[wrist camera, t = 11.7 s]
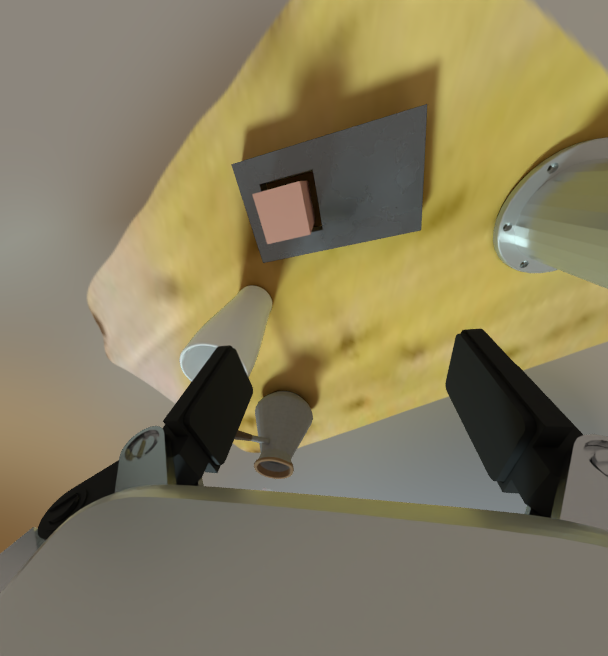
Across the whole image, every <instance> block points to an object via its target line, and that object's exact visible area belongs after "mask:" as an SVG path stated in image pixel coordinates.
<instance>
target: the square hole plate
mask: <svg viewBox="0 0 608 656" xmlns="http://www.w3.org/2000/svg"><path fill="white" fill-rule="evenodd" d="M426 118H427V104H426V105H422V106H419V107H416V108H413V109H409V110H406V111H403V112H400V113H397V114H393V115H390V116H387V117H384V118H380V119H377V120H374V121H371V122H367V123H364V124H361V125H358V126H354V127H351V128H348V129H345V130H341V131H338V132H335V133H332V134H329V135H325V136H322V137H319V138H316V139H312V140H309V141H306V142H303V143H299V144H296V145H293V146H290V147H286V148H283V149H280V150H277V151H273V152H270V153H267V154H264V155H260V156H257V157H254V158H251V159H248V160H244V161H241V162H238V163H235V164H231V165H232V168H233V171H234V174H235V177H236V180H237V183H238V186H239V190H240V193H241V196H242V199H243V202H244V205H245V208H246V211H247V214H248V217H249V220H250V224H251V227H252V230H253V233H254V236H255V239H256V242H257V245H258V248H259V251H260V254H261V258H262V261H263V263H265V262H270V261H275V260H280V259H284V258H289V257H294V256H299V255H304V254H309V253H313V252H318V251H323V250H328V249H333V248H338V247H342V246H347V245H352V244H357V243H362V242H367V241H371V240H376V239H381V238H386V237H391V236H396V235H400V234H405V233H410V232H415V231H420V230H421V221H422V200H423V180H424V159H425V139H426ZM310 171H313V174H314V180H315V186H316V191H317V197H318V203H319V209H320V215H321V221H322V226H318V227H314V228H312V231H311V234H310V235H306V236H302V237H298V238H293V239H289V240H284V241H280V242H275V243H271V244H267V241H266V238H265V235H264V231H263V228H262V225H261V221H260V218H259V215H258V211H257V208H256V205H255V202H254V198H253V195H252V194H255V193H258V192H262V191H266V190H268V189H267V186H266V184H268V183H271V182H275V181H278V180H282V179H286V178H289V177H293V176H296V175H300V174H303V173H307V172H310Z"/></svg>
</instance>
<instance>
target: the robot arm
mask: <svg viewBox="0 0 608 656" xmlns="http://www.w3.org/2000/svg"><path fill="white" fill-rule="evenodd" d="M493 243H494V248H495V251H496V253H497V255H498V257H499V258H500V259H501V260H502V261H503V263H505V264H506V265H508V266H510V267H511V268H513V269H516V270H518V271H521V272H527V273H544V272H551V271H555V270H561V271H563V272H566V273H568V274H571V275H573V276H576V277H578V278H581V279H584V280H586V281H589V282H591V283H594V284H596V285H599V286H601V287H604V288H607V289H608V137H607V138H599V139H593V140H589V141H585V142H580V143H577V144H575V145H572V146H570V147H567V148H565V149H563V150H561V151H559V152H557V153H556V154H554V155H552V156H551V157H549V158H547V159H546V160H544V161H543V162H542V163H540V164H539V165H538V166H537V167H535V168H534V169H533V170H532V171H530V172H529V173H528V174H527V175H526V176H525V177H524V178H523V179H522V180H521V181H520V182H519V183H518V185H517V186H516V187H515V188H514V190H513V191H512V192H511V193H510V195H509V196H508V198H507V199H506V201H505V203H504V204H503V206H502V208H501V210H500V212H499V215H498V217H497V219H496V223H495V227H494V234H493ZM446 390H447V393H448V395H449V397H450V399H451V401H452V402H453V405H454V407H455V408H456V411H457V413H458V414H459V417H460V418H461V420H462V423H463V424H464V427H465V429H466V431H467V433H468V435H469V437H470V439H471V441H472V443H473V445H474V447H475V449H476V451H477V452H478V454H479V457H480V459H481V461H482V463H483V465H484V467H485V469H486V471H487V473H488V475H489V476H490V478H491V479H492V480H493V481H497V482H498V484H499V486H500V488H501V490H502V492H506V493H519V494H520V496H521V497H522V499H523V501H524V503H525V504H527V507H526V511H525V514H518V513H509V512H498V511H489V510H480V509H469V508H461V507H449V506H438V505H426V504H415V503H403V502H392V501H381V500H370V499H358V498H346V497H333V496H321V495H309V494H297V493H285V492H272V491H259V490H245V489H233V488H220V487H206V486H203V481H202V476H203V474H204V471H205V472H211V473H217V472H218V470H219V468H220V465H222V464H223V463H224V462H225V460H226V458H227V455H228V453H229V450H230V448H231V446H232V443H233V441H234V438H235V436H236V433H237V431H238V428H239V426H240V424H241V421H242V419H243V416H244V414H245V411H246V409H247V406H248V404H249V402H250V399H251V397H252V394H253V387H252V385H251V383H250V380H249V378H248V376H247V373H246V371H245V369H244V367H243V364H242V362H241V360H240V357H239V355H238V353H237V351H236V349H235V348H233V347H232V346H230V345H228V346H218V347H217V348H216V349H215V351H214V352H213V353H212V355H211V356H210V358H209V359H208V360H207V362H206V363H205V364H204V366H203V367H202V368H201V370H200V371H199V373H198V374H197V375H196V377H195V378H194V379H193V381H192V382H191V383H190V385H189V386H188V388H187V389H186V390H185V392H184V393H183V394H182V396H181V397H180V399H179V400H178V401H177V403H176V404H175V405H174V407H173V408H172V410H171V411H170V412H169V414H168V415H167V416H166V418H165V419H164V421H163V422H164V423H165V426H164V427H163V428H161V427H159V426H152V427H149V428H146V429H144V430H142V431H140V432H139V433H137V434H136V435H135V436H133V437H132V438H131V439H130V440H129V441H128V443H127V444H126V445H125V446H124V448H123V449H122V451H121V454H120V457H119V460H118V461H117V462H115V463H113V464H112V465H110V466H109V467H107V468H105V469H104V470H102V471H101V472H99V473H97V474H95V475H94V476H92V477H91V478H89V479H87V480H86V481H84V482H82V483H81V484H79V485H78V486H76V487H74V488H73V489H71V490H70V491H68V492H67V493H65V494H64V495H63V496H61V497H60V498H59V499H58V500H57V501H56V502H55V503H54V504H53V505H52V506H51V507H50V508H49V509H48V511H47V512H46V513H45V515H44V517H43V518H42V519H41V522H40V524H39V526H38V529H37V528H35V527H33V528H32V529H30V530H29V531H28V532H27V533H25V534H24V535H23V536H22V537H20V538H19V539H18V540H17V541H16V542H14V543H13V544H12V545H11V546H9V547H8V548H7V549H6V550H4V551H3V552H2V553H1V554H0V656H608V436H601V435H595V434H590V435H583V434H582V433H581V432H580V431H579V430H578V429H577V428H576V427H575V426H574V424H573V423H572V422H571V421H570V420H569V419H568V418H567V417H566V416H565V415H564V414H563V413H562V412H561V411H560V410H559V409H558V408H557V407H556V405H555V404H554V403H553V402H552V401H551V400H550V399H549V398H548V397H547V396H546V395H545V394H544V393H543V392H542V391H541V390H540V388H539V387H538V386H537V385H536V384H535V383H534V382H533V381H532V380H531V379H530V378H529V377H528V376H527V375H526V374H525V373H524V372H523V370H522V369H521V368H520V367H519V366H517V365H516V364H515V363H514V362H513V361H512V360H511V359H510V358H509V357H508V356H507V355H506V354H505V352H504V351H503V350H502V349H501V348H500V347H499V346H498V345H497V344H496V343H495V342H494V341H493V340H492V339H491V338H490V336H489V335H488V334H487V333H486V332H485V331H484V330H482V329H469V330H462V332H461V334H457V335H456V338H455V343H454V347H453V352H452V356H451V361H450V365H449V370H448V374H447V379H446Z"/></svg>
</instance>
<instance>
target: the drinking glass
mask: <svg viewBox="0 0 608 656" xmlns="http://www.w3.org/2000/svg"><path fill="white" fill-rule="evenodd" d="M271 309H272V299H271V297H270V295H269V294H268V292H267V291H266V290H264V289H263V288H261V287H258V286H247V287H244V288H243V289H241V290H240V291H239V293H238V294H237V295H236V296H235V297H234V298H233V299H232V300H231V301H230V302H228V303H227V304H226V305H225V306H224V307H223V308H222V309H221V310H220V311H218V312H217V313H216V314H215V315H214V316H213V317H212V318H211V319H210V320H208V321H207V322H206V323H205V324H204V325H203V326H202V327H201V329H200V330H199V331H198V332H197V333H196V334H195V335H194V337H193V338H192V339H191V340H190V342H189V343H188V344H187V346H186V347H185V348H184V349H183V351H182V353H181V355H180V366H181V369H182V371H183V372H184V374H185V375H186V376H187V378H188V379H189V380H190V381H193V379H194V378H195V377H196V375H197V374H198V373H199V371H200V370H201V368H202V367H203V366H204V364H205V363H206V362H207V360H208V359H209V358H210V356H211V355H212V353H213V352H214V351H215V349H216V348H217V347H218V346H228V345H230V346H232V347H233V348H235V349H236V351H237V353H238V355H239V357H240V360H241V362H242V364H243V367H244V369H245V371H246V373H247V376H248V378H249V376H250V374H251V371H252V369H253V367H254V365H255V362H256V360H257V357H258V354H259V351H260V347H261V343H262V340H263V336H264V332H265V328H266V325H267V321H268V317H269V314H270V312H271Z"/></svg>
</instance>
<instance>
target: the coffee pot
mask: <svg viewBox="0 0 608 656" xmlns="http://www.w3.org/2000/svg"><path fill="white" fill-rule="evenodd" d="M255 416H256V423H257V429H258V436H253V435H251V434H248V433H245V432H242V431H239V430H238V431H237V433H236V436H235V438H234V439H236V440H246V441H254V442H258V443H260V450H261V455H260V457H259V459H258V460H256V462H255V463H254V468H255V470H256V471H257V472H258V473H260V474H261V475H263V476H266V477H269V478H274V479H282V478H287V477H289V476H291V475H292V473H293V471H294V469H293V464H292V462H291V458H292V456H293V455H294V453H295V451H296V449H297V448H298V446H299V444H300V442H301V441H302V439H303V437H304V435H305V434H306V432H307V430H308V428H309V427H310V425H311V423H312V420H313V415H312V411H311V409H310V407H309V405H308V404H307V403H306V401H305V400H303V399H302V398H301V397H300V396H298V395H297V394H295V393H292V392H289V391H278V392H275V393H272V394H269V395H267V396H265V397H264V398H263V399H261V400H260V401H259V402H258V404H257V406H256V409H255Z"/></svg>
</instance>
